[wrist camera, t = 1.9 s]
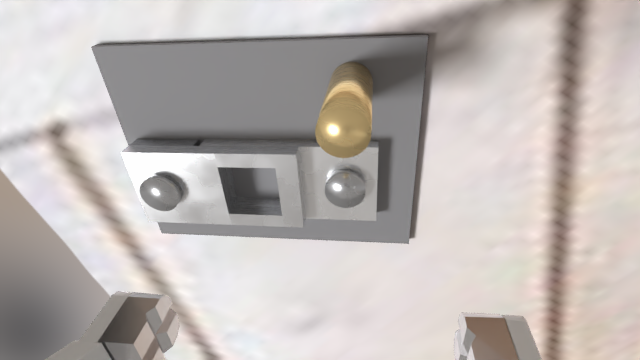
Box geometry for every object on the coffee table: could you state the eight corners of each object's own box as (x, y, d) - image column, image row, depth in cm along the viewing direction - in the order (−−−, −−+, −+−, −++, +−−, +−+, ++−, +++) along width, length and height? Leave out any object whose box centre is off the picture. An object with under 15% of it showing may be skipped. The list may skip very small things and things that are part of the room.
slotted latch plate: (378, 139, 29) (378, 161, 26) (376, 212, 33) (376, 236, 30) (137, 138, 32) (115, 157, 29) (161, 205, 35) (143, 227, 33)
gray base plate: (427, 34, 25) (428, 36, 24) (408, 239, 35) (408, 243, 34) (96, 44, 28) (91, 46, 28) (164, 229, 38) (161, 233, 37)
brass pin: (373, 61, 26) (371, 106, 19) (372, 102, 27) (371, 158, 21) (329, 62, 26) (313, 107, 19) (331, 103, 28) (316, 157, 21)
